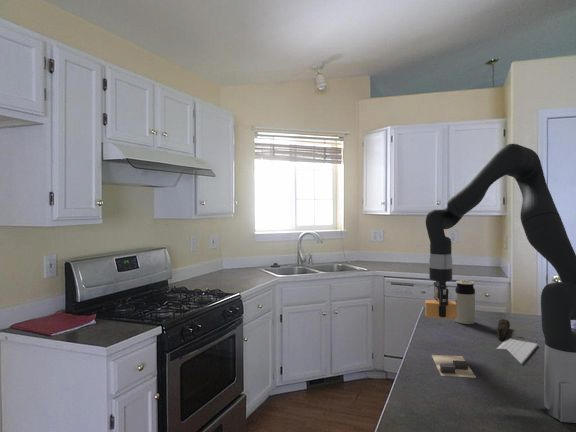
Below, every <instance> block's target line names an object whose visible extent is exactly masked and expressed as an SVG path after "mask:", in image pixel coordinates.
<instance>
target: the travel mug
mask: <svg viewBox="0 0 576 432" xmlns="http://www.w3.org/2000/svg"><path fill="white" fill-rule="evenodd" d="M455 283H456V287H455V300H454V301H455V302H456V304H457V319H454V320H455V322H456V323H458V324H462V325H474V324H475V323H476V318H475V317H476V290H475V287H474V286H475V285H474V284H475V281H472V280H465V279H464V280H463V279H460V280H456V281H455Z"/></svg>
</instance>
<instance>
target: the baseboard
mask: <svg viewBox="0 0 576 432" xmlns="http://www.w3.org/2000/svg"><path fill="white" fill-rule="evenodd" d="M506 337H507V336H504V337H503V339H504V341H503V342H501V344H499V345H498V346H497V347H496V350H497V349H498V350H499V349H500V350H507V351H508V352H509V354H511V355H512V356H513V357H514V358H515V360H517V362H519V363H520V364H521V365H524V363H525V362H526V360H527V359H528V358H529V357H530V355H531V354H533V352H534V351H535V349H537V347H538V343H537V342H538V341H537V340H535V342H532V340H530V339H529V341H526V340H527V339H525V337H522V336H521V337H520V336H517V339H514V338H508V339H506ZM508 337H511V336H509V335H508ZM518 339H521V340H518ZM524 340H525V341H524ZM530 341H531V342H530Z"/></svg>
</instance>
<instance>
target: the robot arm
mask: <svg viewBox="0 0 576 432" xmlns="http://www.w3.org/2000/svg"><path fill="white" fill-rule="evenodd" d="M505 176H508V177H512V178H513V179H514V180H515V181H516V182H517V185H518V187H519V189H520V192H521V195H522V196H521V198H522V203H521V209H520V216H519V217H520V222H521V225H522V228H523V231H524V234H525V236H526V238H527V241H528V243H529V244H530V245H531V247H533V249H535V250H536V252H537V253H539V254H540V255H541V257H543V258H544V259H545V260H546V261H547V262H548V263H549V264H551V266H552V267H553V268H554V270H555V271H556V273H557V275H558V277H559V279H560V282H550V283H548V284H545V286H544V287H543V289H542V291H541V295H540V310H541V311H540V313H541V314H540V315H541V329H542V334H543V337H544V363H543V364H544V372H543V373H544V379H543V383H544V385H543V389H544V390H543V405H544V407H545V408H543V411H544V412H545V413H546V414H547V415H548V416H551V417H552V418H554V419H556V420H559V422H560V423H572V424H576V331H573V329H572V321H576V251H575V250H574V248H573V246H572V243H571V240H570V239H569V236H568V234H567V231H566V228H565V225H564V222H563V220H562V217H561V215H560V213H559V211H558V209H557V206H556V204H555V201H554V199H553V197H552V194H551V192H550V189H549V187H548V184H547V181H546V178H545V174H544V170H543V166H542V162H541V158H540V157H539V155H538V153H537V152H536V151H534V150H533V149H531V148H529V147H526V146H523V145H520V144H518V143H508V144H506V145H504V146H503V147H501V148H500V149H499V150H497V152H496V153H495V154H494V155H493V156H492V157H491V158H490V160H488V161H487V163H486V164H485V165H484V166H483V167H482V168H481V169H480V171H479V172H478V173H477V174H476V175H475V176H474V177H473V179H472V180H471V181H469V182H468V183H467V184H466V185H465V186H464V187H463V188H462V189H460V190H459V191H458V192H457V193H455V194H454V195H453V196H452V197H450V198H449V199H448V201H447V203H446V204H447V206H446V207H445V208H443V209H432V210H430V211H429V212H428V213H427V214H426V218H425V227H426V231H427V235H428V238H429V242H430V243H429V260H428V261H429V262H428V263H429V265H428V266H429V268H428V269H429V271H428V272H429V273H428V274H429V277H428V278H429V280H430V281H433V293H434V294H433V295H434V296H433V298H434V299H433V300H438V302H439V304H438V305H439V316H440V317H446V306H448V301H449V287H448V285H447V284H446V283H447V282H451V281H453V257H452V240H451V238H450V237H449V236H446V234H445V230H449V229H452V228H453V227H455V225H457V224H458V223H459V222H460V220H462V219H463V217H464V216H465V215H466V214H467V213H469V212H470V211H472V210H473V209H474V208H476V207H477V206H478V205H479V204H480V203H481V202H482V201H483V199H484V198H485V195H486V193H487V192H488V190H489V188H490V187H491V186H492V185H493V184H494V183H495V182H497V181H498V180H500V179H501V178H503V177H505ZM442 301H444V302H442Z"/></svg>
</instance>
